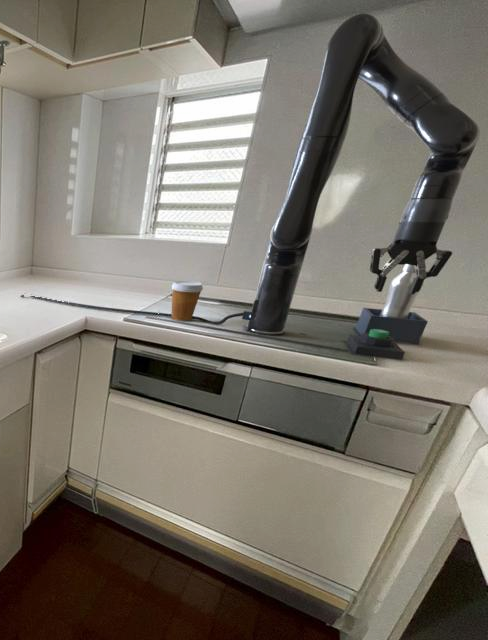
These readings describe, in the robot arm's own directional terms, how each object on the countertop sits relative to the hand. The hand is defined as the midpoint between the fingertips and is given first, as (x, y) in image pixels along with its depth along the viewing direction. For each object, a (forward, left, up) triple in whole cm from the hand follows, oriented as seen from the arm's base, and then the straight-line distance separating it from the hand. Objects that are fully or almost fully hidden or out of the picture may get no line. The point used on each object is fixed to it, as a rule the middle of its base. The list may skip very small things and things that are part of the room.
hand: (394, 292), depth 100 cm
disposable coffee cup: (-48, +10, -16) cm, 51 cm away
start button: (0, 0, -12) cm, 12 cm away
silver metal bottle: (+6, +19, -15) cm, 25 cm away
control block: (0, 0, -15) cm, 15 cm away
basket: (+6, +19, -15) cm, 25 cm away
